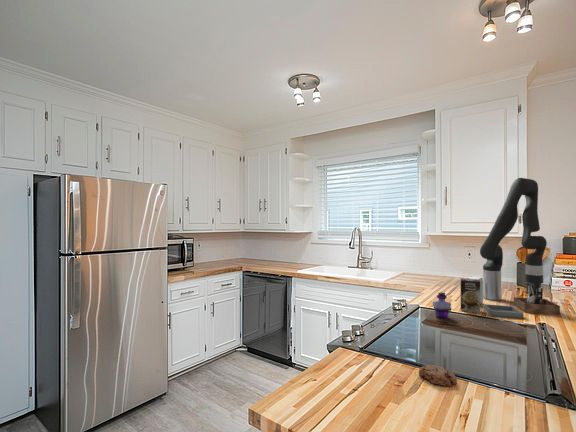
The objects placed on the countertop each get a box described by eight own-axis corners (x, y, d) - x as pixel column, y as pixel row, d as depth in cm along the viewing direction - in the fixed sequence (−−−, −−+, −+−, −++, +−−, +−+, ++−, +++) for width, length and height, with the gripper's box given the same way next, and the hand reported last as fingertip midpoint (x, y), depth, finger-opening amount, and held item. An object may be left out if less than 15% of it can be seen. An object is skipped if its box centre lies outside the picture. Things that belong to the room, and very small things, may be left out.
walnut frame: (524, 312, 164) (524, 303, 164) (513, 305, 178) (513, 297, 178) (560, 314, 160) (559, 305, 160) (546, 307, 174) (545, 299, 174)
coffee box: (460, 311, 168) (460, 280, 168) (460, 308, 173) (460, 278, 174) (480, 313, 163) (480, 281, 164) (480, 310, 169) (479, 279, 170)
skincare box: (472, 301, 188) (471, 276, 188) (483, 303, 183) (483, 277, 183) (466, 303, 182) (465, 277, 183) (477, 305, 178) (477, 279, 178)
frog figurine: (536, 310, 165) (536, 296, 165) (523, 306, 172) (523, 293, 172) (545, 309, 167) (545, 296, 167) (532, 305, 173) (532, 293, 173)
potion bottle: (454, 320, 152) (453, 294, 152) (434, 319, 154) (434, 294, 154) (449, 315, 160) (448, 291, 161) (430, 314, 162) (430, 290, 162)
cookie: (424, 368, 103) (424, 359, 103) (460, 378, 96) (460, 368, 96) (413, 380, 95) (413, 369, 95) (452, 391, 88) (452, 380, 88)
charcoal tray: (491, 316, 158) (491, 311, 158) (483, 309, 171) (483, 304, 171) (523, 318, 154) (523, 313, 154) (513, 311, 167) (512, 306, 167)
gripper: (520, 271, 177) (521, 301, 177) (531, 275, 164) (531, 308, 164) (536, 271, 175) (537, 302, 175) (548, 276, 161) (549, 309, 161)
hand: (534, 305), depth 169 cm, fingers closed on frog figurine, 6 cm apart
